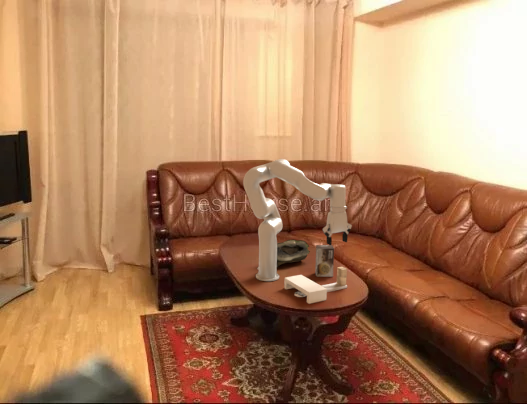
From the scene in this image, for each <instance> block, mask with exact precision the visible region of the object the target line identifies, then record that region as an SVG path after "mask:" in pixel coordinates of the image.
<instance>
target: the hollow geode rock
mask: <svg viewBox="0 0 527 404" xmlns="http://www.w3.org/2000/svg"><path fill="white" fill-rule="evenodd" d="M309 248H310V245H309V244H308V243H307V241H305V240H301V239H300V240H299V239H298V240H297V239H294V238H293V239H288V240H285V241H283V242H277V268H278V267H280V266H281V265H283V264H289V263H296V262H297V263H298V262H301V261H304V260H306V259H307V256H308V255H309V254H310V252H311V251H310V250H309Z"/></svg>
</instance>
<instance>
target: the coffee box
mask: <svg viewBox="0 0 527 404" xmlns="http://www.w3.org/2000/svg"><path fill="white" fill-rule="evenodd" d="M334 255H335V247H334V246H333V245H332V244H331V245H329V244H319V245H318V244H316V246H315V272H314V273H315V276H316V277H326V278H327V277H334V260H335V259H334V258H335V256H334Z"/></svg>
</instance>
